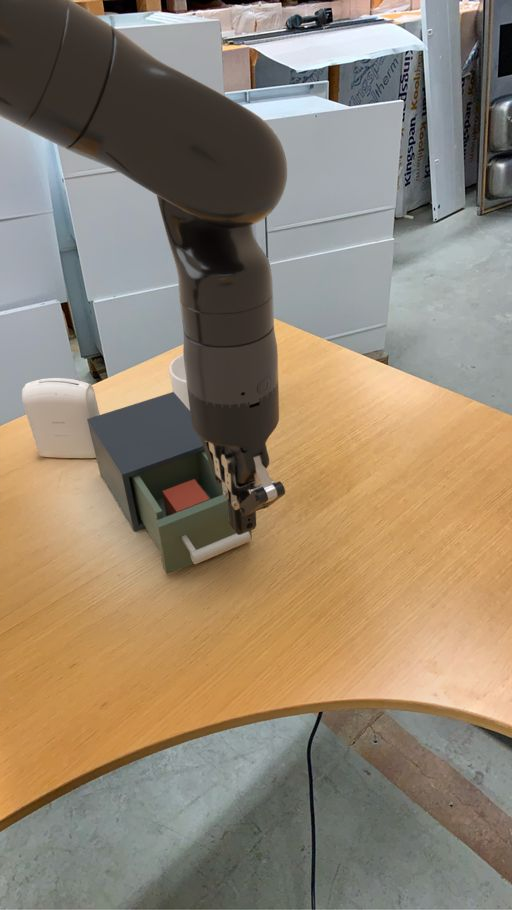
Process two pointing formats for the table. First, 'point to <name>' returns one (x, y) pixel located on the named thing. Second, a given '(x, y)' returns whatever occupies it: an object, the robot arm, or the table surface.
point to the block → (183, 497)
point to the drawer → (185, 514)
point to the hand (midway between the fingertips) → (243, 527)
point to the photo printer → (61, 416)
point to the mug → (179, 379)
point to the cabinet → (141, 444)
